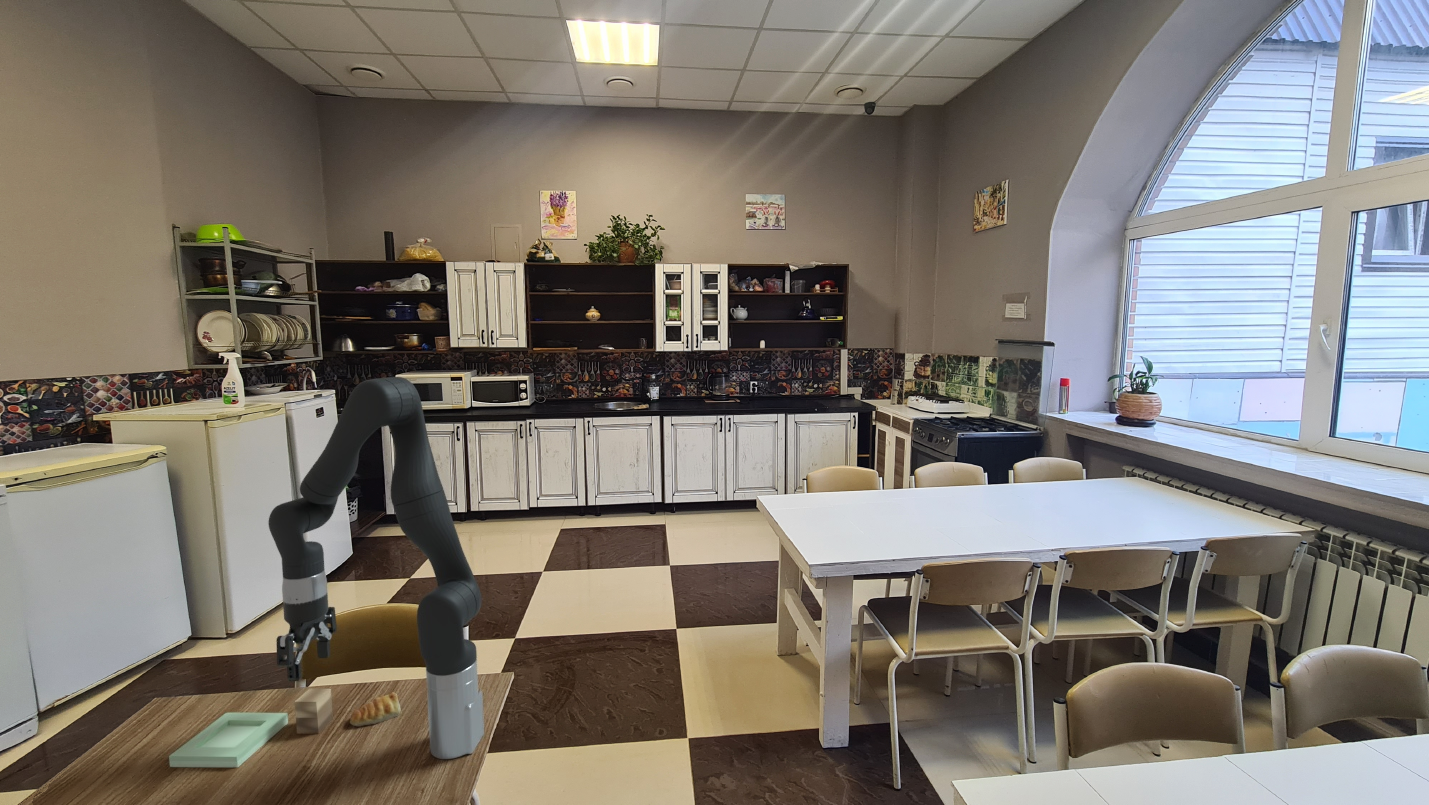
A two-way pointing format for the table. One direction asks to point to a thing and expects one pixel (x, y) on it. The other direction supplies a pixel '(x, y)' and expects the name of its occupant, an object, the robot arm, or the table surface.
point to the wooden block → (313, 711)
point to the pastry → (376, 710)
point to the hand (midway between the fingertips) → (310, 668)
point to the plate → (229, 740)
